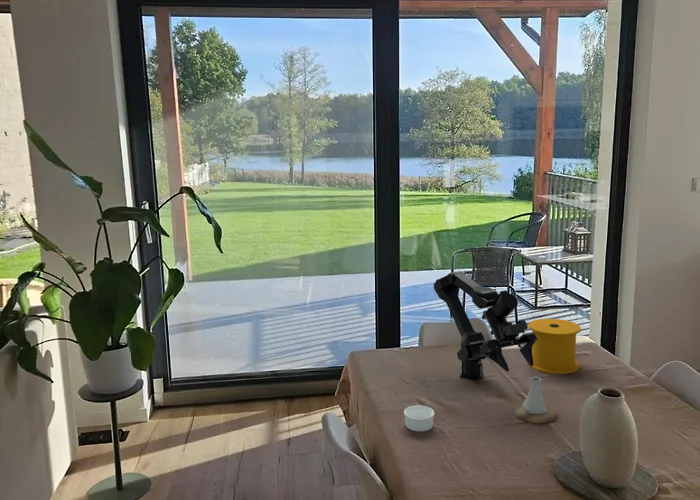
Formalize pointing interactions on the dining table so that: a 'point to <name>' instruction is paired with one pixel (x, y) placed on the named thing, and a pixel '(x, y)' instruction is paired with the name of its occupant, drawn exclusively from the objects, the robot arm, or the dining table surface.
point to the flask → (535, 398)
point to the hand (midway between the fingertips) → (520, 368)
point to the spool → (554, 345)
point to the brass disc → (535, 417)
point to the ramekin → (419, 418)
